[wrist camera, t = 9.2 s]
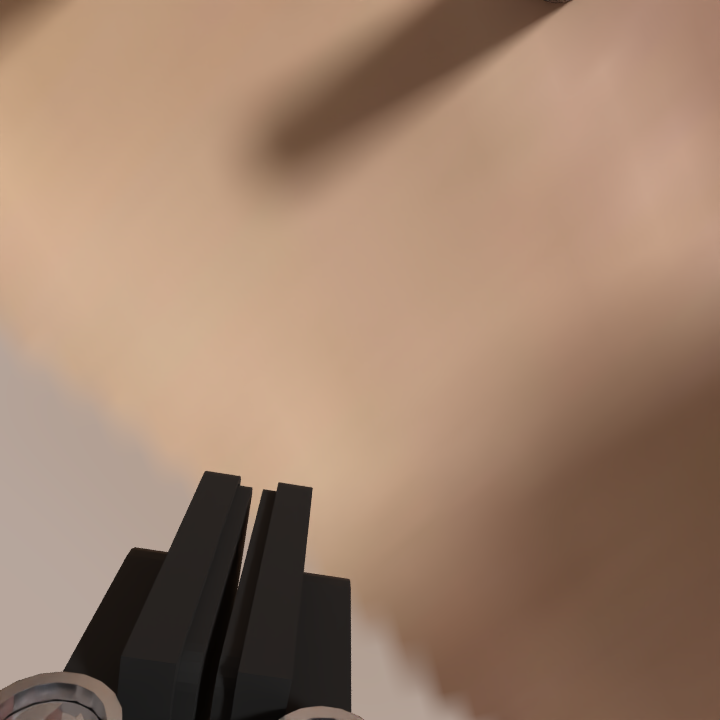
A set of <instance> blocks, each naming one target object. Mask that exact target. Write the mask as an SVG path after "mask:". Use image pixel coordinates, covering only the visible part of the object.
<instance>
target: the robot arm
mask: <svg viewBox="0 0 720 720" xmlns="http://www.w3.org/2000/svg"><path fill="white" fill-rule="evenodd" d="M240 482H241V476H235V475H229V474H222V473H216V472H209V471H205V473H204V474H203V477H202V479H201V481H200V483H199V485H198V488H197V490H196V492H195V494H194V496H193V499H192V501H191V503H190V505H189V507H188V510H187V512H186V514H185V516H184V518H183V521H182V523H181V525H180V527H179V529H178V532H177V534H176V536H175V538H174V540H173V543H172V545H171V547H170V549H169V551H168V552H163V551H156V550H149V549H143V548H136V547H135V548H132V549H131V551H130V552H129V554H128V555H127V557H126V558H125V560H124V562H123V564H122V566H121V567H120V569H119V571H118V573H117V575H116V576H115V578H114V580H113V582H112V584H111V585H110V587H109V589H108V591H107V593H106V595H105V597H104V598H103V600H102V602H101V604H100V606H99V607H98V609H97V611H96V613H95V614H94V616H93V618H92V620H91V622H90V623H89V625H88V627H87V629H86V631H85V632H84V634H83V636H82V638H81V640H80V642H79V643H78V645H77V647H76V649H75V651H74V652H73V654H72V656H71V658H70V660H69V662H68V663H67V665H66V667H65V669H64V670H63V672H54V673H43V674H38V675H35V676H32V677H28V678H25V679H22V680H19V681H16V682H15V683H13V684H11V685H9V686H7V687H5V688H4V689H2V690H0V720H364V719H362V718H361V717H360V716H357V715H355V714H352V713H351V587H350V580H349V579H346V578H339V577H332V576H325V575H319V574H312V573H305V572H304V564H305V554H306V545H307V536H308V526H309V517H310V508H311V499H312V489H313V488H311V487H305V486H299V485H292V484H286V483H280V482H279V483H278V487H277V491H271V490H264V489H263V492H262V496H261V500H260V504H259V508H258V512H257V516H256V520H255V524H254V528H253V531H252V535H251V539H250V543H249V547H248V551H247V555H246V559H245V563H244V567H243V571H242V575H241V578H240V582H239V576H240V569H241V563H242V556H243V550H244V543H245V537H246V530H247V523H248V517H249V510H250V504H251V497H252V487H245V486H240ZM238 583H239V586H238ZM237 589H238V590H237Z"/></svg>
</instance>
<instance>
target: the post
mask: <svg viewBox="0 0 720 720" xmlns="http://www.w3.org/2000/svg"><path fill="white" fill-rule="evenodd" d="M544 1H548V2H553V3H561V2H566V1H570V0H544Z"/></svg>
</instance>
